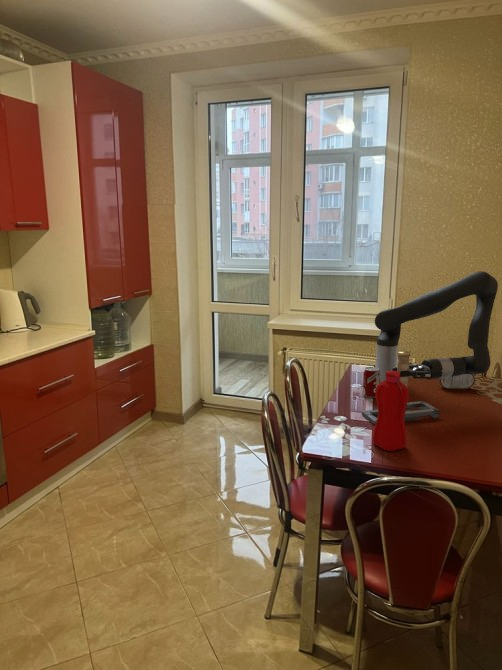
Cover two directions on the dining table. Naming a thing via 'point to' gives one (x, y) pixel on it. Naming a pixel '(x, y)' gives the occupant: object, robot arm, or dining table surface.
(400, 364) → the pin
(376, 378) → the soda can
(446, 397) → the dining table surface
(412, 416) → the grey ladder frame
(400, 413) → the water bottle
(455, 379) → the tin
